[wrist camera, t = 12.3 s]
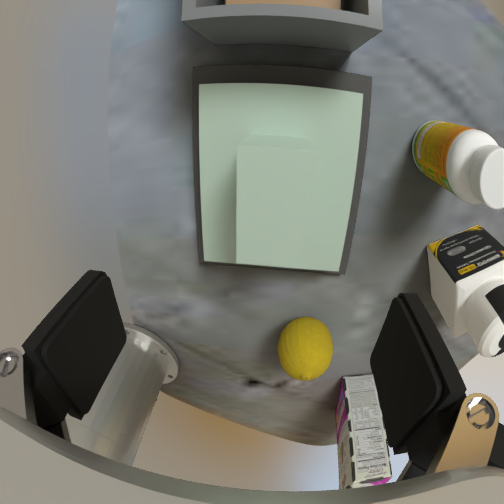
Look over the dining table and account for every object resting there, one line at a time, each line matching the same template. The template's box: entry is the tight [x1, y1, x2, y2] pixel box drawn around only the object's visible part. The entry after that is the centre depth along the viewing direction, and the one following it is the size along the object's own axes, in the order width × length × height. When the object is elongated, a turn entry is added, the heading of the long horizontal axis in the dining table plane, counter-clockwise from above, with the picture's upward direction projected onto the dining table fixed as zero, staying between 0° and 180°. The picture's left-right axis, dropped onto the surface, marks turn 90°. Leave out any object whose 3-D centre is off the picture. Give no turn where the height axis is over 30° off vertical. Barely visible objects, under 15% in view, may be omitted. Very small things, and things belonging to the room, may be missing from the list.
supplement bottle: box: [412, 121, 504, 209], centre depth 16 cm, size 5×5×10 cm
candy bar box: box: [335, 374, 392, 490], centre depth 30 cm, size 11×5×16 cm, turn 7°
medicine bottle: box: [427, 225, 504, 357], centre depth 20 cm, size 7×7×12 cm
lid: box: [199, 83, 363, 272], centre depth 19 cm, size 15×12×8 cm
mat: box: [193, 65, 372, 274], centre depth 23 cm, size 18×14×1 cm
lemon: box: [278, 317, 333, 381], centre depth 27 cm, size 6×6×8 cm
